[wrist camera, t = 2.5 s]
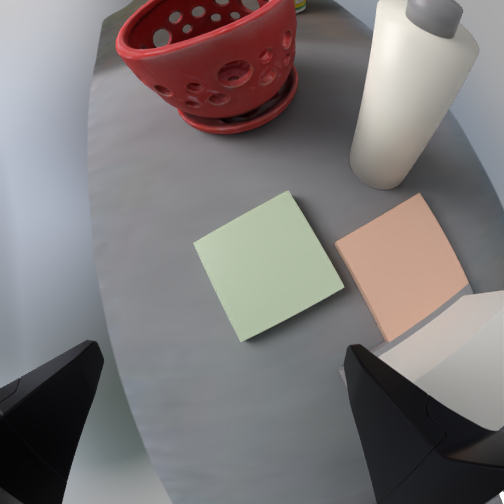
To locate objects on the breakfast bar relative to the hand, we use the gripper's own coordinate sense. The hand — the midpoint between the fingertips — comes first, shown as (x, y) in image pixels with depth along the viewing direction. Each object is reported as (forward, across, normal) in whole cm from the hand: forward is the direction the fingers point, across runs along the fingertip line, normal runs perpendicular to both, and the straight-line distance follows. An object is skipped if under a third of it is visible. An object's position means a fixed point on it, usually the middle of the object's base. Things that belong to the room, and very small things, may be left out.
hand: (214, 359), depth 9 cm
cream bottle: (+15, -12, -6) cm, 20 cm away
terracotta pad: (+10, -12, +1) cm, 16 cm away
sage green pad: (+12, -2, +2) cm, 12 cm away
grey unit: (+6, -14, +8) cm, 17 cm away
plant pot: (+21, 0, -12) cm, 24 cm away
